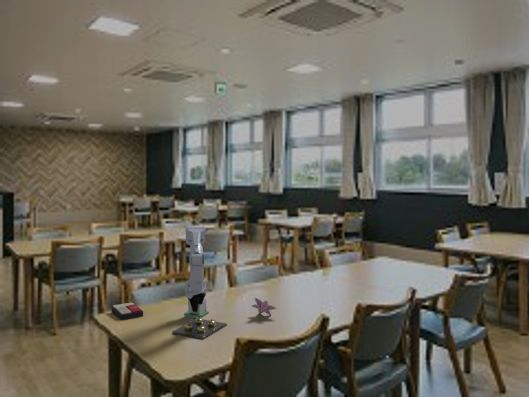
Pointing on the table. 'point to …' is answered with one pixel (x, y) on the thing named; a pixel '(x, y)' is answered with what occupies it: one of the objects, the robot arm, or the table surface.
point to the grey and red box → (127, 311)
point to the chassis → (199, 328)
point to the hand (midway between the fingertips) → (196, 310)
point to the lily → (263, 307)
